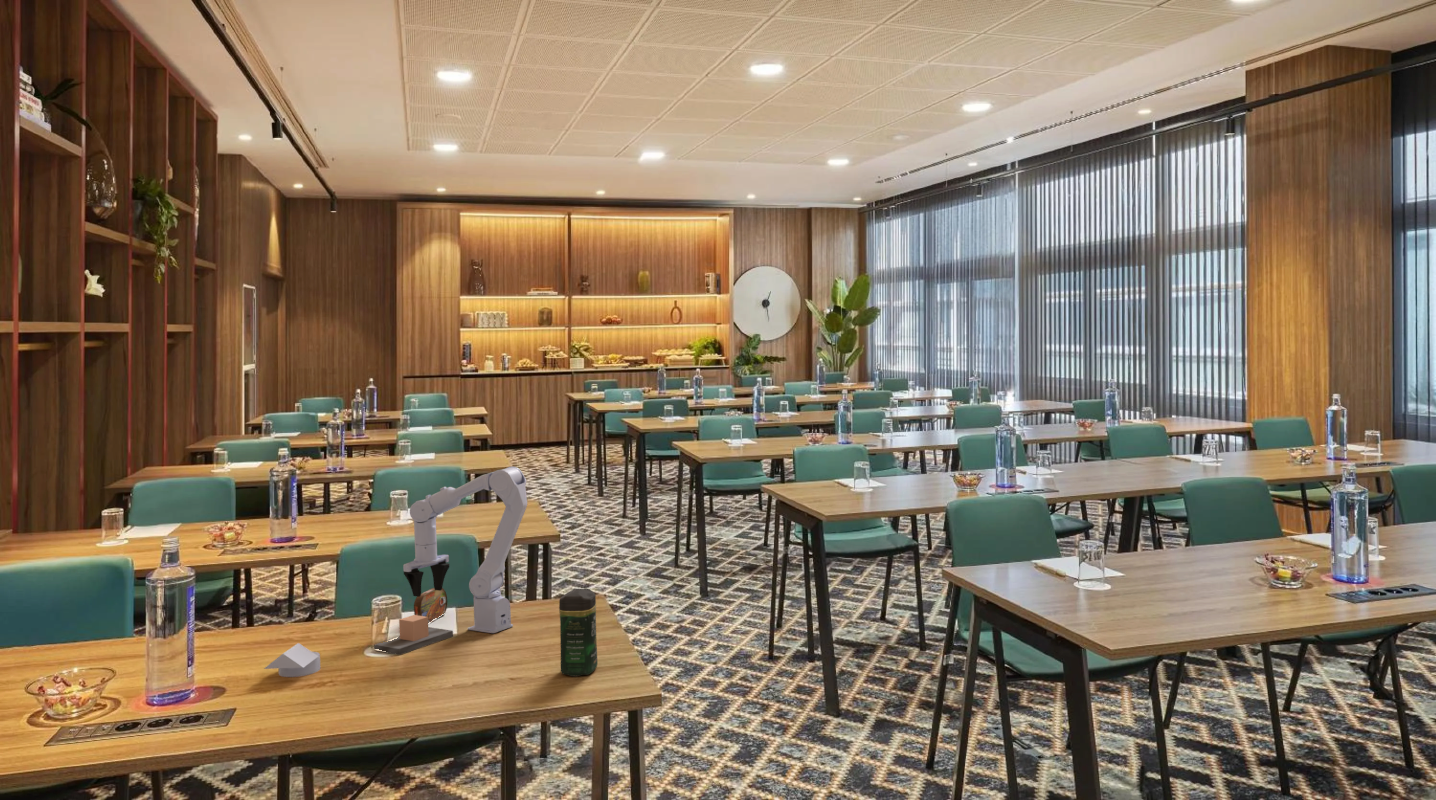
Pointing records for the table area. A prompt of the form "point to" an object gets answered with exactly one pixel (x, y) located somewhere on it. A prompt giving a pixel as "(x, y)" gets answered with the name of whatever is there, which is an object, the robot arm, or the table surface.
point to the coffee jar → (578, 632)
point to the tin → (431, 604)
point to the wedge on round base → (296, 662)
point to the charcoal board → (414, 642)
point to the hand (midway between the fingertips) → (427, 592)
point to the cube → (413, 627)
